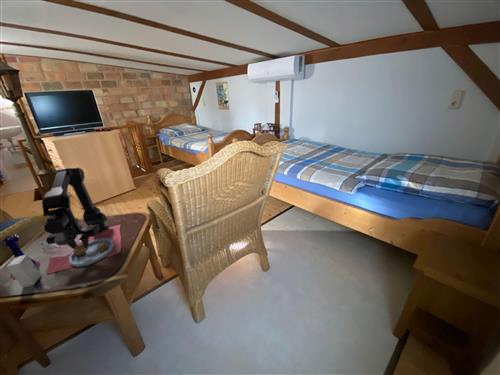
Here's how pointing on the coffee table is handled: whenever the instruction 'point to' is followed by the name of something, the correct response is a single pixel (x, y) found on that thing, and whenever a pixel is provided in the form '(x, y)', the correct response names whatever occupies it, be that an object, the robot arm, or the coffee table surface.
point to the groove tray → (91, 253)
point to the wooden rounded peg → (102, 247)
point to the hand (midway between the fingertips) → (81, 248)
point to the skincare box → (24, 271)
